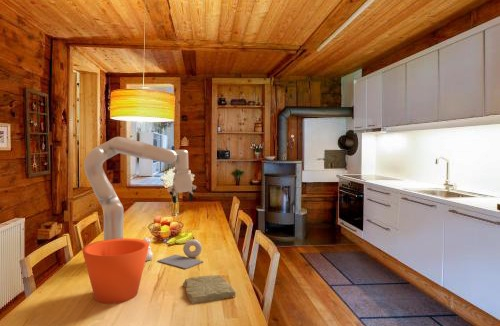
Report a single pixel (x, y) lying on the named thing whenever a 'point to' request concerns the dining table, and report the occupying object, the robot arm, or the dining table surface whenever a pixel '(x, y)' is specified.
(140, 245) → the flowerpot
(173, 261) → the rubber mat
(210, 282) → the stone slab
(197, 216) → the dining table surface
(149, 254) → the white creature statuette
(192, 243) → the donut
